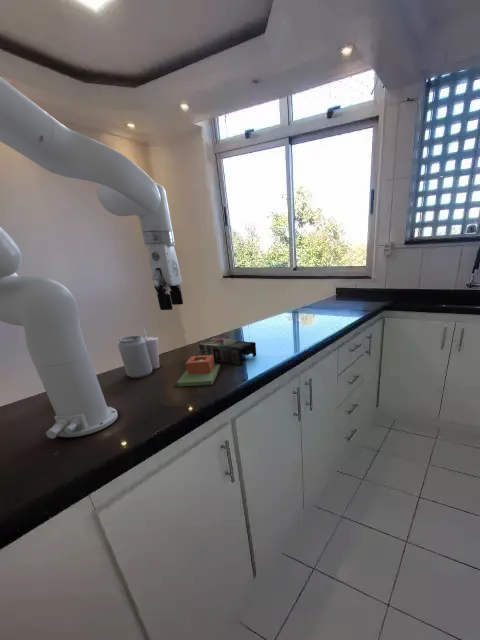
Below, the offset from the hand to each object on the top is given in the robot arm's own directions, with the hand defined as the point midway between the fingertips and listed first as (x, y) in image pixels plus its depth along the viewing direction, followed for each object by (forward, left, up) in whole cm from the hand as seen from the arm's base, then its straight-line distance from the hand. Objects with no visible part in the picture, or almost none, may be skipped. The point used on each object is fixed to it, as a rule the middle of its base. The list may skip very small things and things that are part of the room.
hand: (172, 306), depth 89 cm
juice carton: (+14, -11, -21) cm, 27 cm away
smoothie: (+8, +13, -21) cm, 26 cm away
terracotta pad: (0, -5, -20) cm, 20 cm away
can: (+2, +15, -21) cm, 26 cm away
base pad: (-3, -5, -21) cm, 22 cm away
